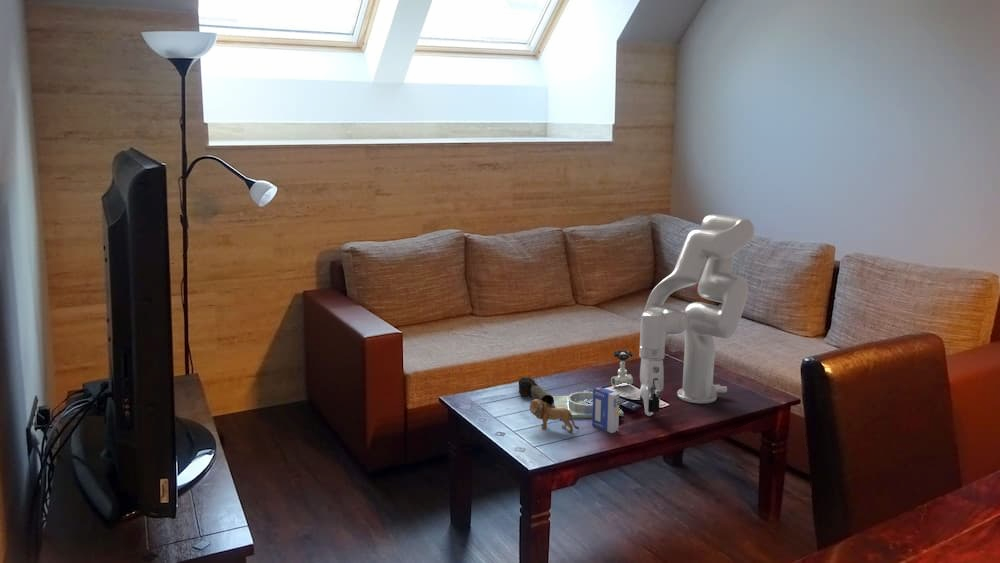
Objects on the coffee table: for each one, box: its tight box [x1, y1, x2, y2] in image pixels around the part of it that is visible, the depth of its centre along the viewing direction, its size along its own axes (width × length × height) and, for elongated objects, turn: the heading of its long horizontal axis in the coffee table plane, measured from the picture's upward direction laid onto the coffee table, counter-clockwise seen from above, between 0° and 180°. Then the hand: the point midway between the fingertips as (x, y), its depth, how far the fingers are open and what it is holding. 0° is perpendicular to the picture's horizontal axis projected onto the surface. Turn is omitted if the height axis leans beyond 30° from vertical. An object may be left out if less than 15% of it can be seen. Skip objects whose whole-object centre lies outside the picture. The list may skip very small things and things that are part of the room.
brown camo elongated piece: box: [518, 376, 554, 407], centre depth 260 cm, size 18×7×6 cm, turn 23°
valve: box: [610, 349, 634, 387], centre depth 270 cm, size 7×7×12 cm
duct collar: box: [551, 391, 625, 420], centre depth 252 cm, size 20×16×3 cm
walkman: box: [591, 386, 620, 434], centre depth 236 cm, size 8×3×12 cm, turn 42°
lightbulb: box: [639, 385, 655, 417], centre depth 245 cm, size 6×6×11 cm
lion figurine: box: [529, 398, 580, 434], centre depth 235 cm, size 15×5×9 cm, turn 83°
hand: (649, 405), depth 245 cm, fingers open, 8 cm apart
